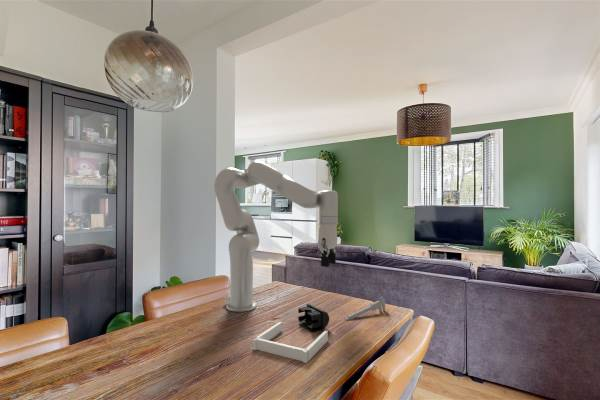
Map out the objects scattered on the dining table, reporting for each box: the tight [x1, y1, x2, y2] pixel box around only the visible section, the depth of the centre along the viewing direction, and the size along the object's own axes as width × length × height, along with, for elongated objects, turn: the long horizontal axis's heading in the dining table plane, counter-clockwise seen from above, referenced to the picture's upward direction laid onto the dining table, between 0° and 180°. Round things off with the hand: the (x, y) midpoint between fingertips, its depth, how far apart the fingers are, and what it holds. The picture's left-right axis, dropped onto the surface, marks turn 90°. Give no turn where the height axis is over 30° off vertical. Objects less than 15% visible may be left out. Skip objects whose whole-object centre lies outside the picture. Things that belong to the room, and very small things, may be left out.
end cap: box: [297, 303, 330, 334], centre depth 111 cm, size 10×7×7 cm
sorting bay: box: [252, 321, 329, 364], centre depth 96 cm, size 18×16×3 cm
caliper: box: [345, 296, 386, 321], centre depth 122 cm, size 20×1×6 cm, turn 120°
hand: (328, 264), depth 124 cm, fingers open, 6 cm apart
